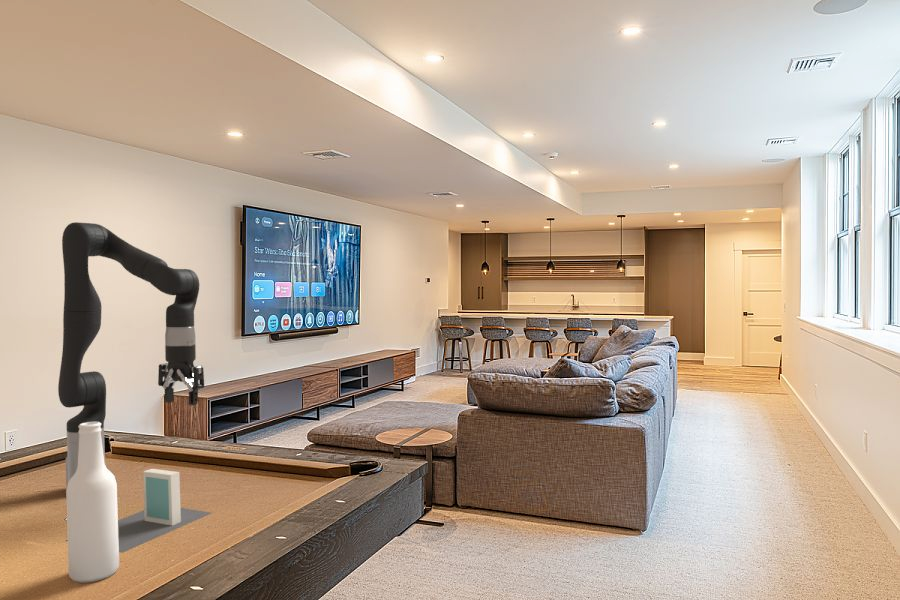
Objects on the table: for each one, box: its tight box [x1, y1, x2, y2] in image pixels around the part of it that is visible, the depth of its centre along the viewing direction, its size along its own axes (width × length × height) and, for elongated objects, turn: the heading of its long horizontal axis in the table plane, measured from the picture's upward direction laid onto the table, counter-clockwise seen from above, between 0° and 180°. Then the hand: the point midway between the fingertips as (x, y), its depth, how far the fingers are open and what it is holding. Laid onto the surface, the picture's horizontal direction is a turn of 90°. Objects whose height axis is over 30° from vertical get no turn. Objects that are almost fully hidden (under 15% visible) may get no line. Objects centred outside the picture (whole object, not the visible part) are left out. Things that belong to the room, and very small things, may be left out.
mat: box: [65, 507, 212, 553], centre depth 155 cm, size 18×26×1 cm
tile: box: [142, 468, 181, 526], centre depth 157 cm, size 9×3×12 cm, turn 66°
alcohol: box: [65, 422, 120, 584], centre depth 129 cm, size 9×9×30 cm
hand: (181, 403), depth 176 cm, fingers open, 8 cm apart
